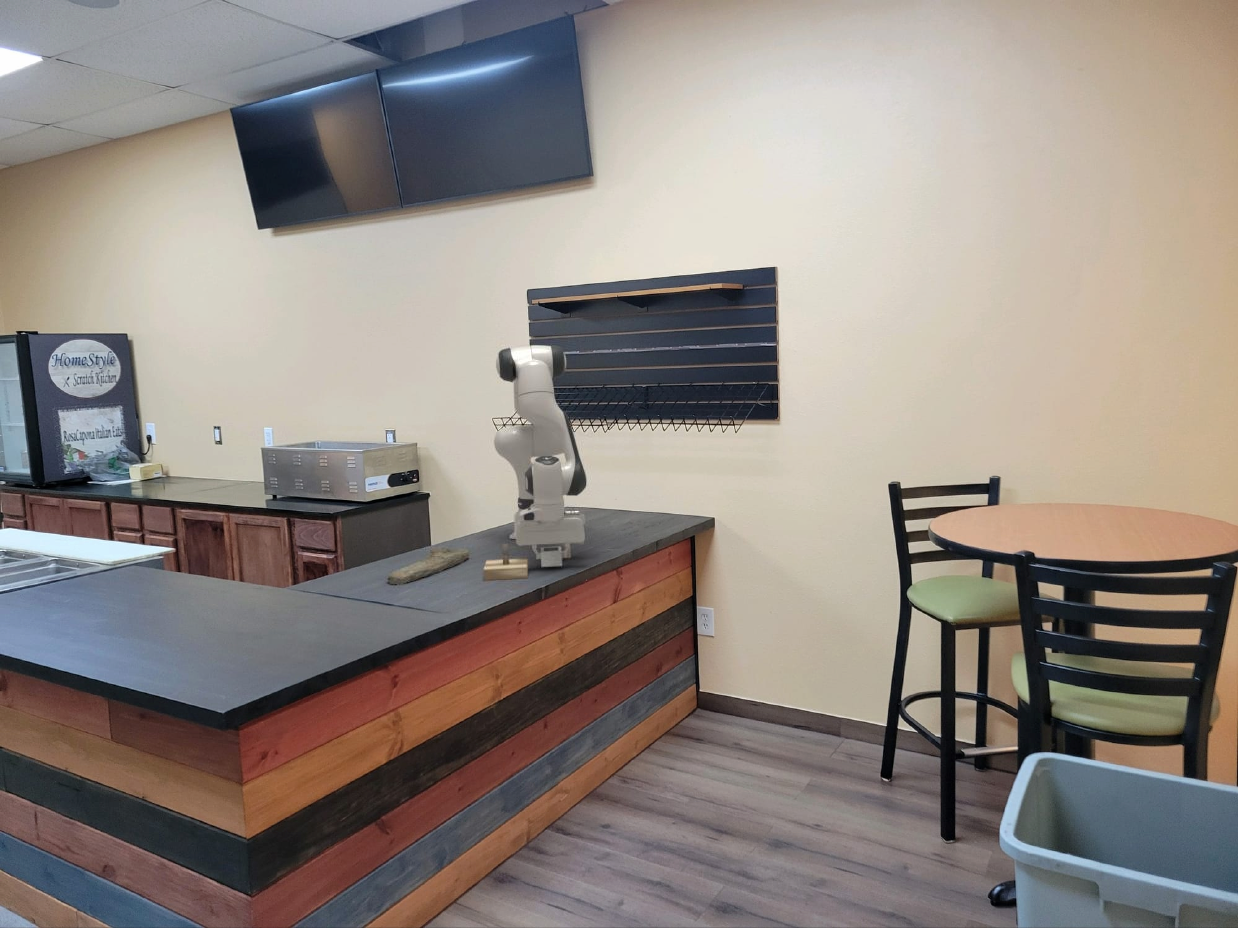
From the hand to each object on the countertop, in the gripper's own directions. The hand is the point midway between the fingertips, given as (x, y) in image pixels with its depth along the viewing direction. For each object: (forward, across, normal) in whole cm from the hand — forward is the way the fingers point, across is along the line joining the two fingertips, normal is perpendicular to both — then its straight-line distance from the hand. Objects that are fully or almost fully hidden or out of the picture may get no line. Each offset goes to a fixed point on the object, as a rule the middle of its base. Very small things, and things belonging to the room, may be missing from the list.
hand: (551, 558), depth 251 cm
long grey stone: (+4, +36, -5) cm, 37 cm away
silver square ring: (+2, 0, 0) cm, 2 cm away
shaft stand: (+3, +13, +5) cm, 14 cm away
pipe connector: (+3, -5, -12) cm, 14 cm away
